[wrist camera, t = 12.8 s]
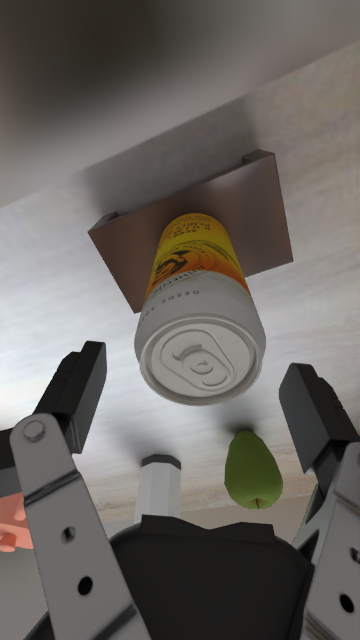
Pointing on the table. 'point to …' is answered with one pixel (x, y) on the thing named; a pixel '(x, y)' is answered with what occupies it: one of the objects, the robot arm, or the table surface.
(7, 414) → the table surface
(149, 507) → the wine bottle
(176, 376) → the beer can
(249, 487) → the apple
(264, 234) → the shelf
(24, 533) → the teapot
